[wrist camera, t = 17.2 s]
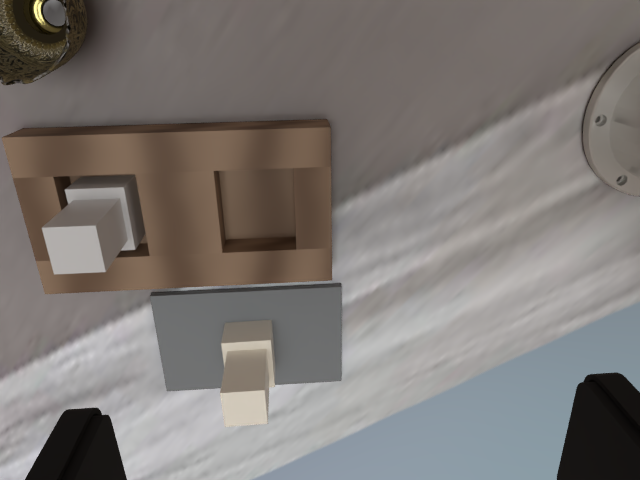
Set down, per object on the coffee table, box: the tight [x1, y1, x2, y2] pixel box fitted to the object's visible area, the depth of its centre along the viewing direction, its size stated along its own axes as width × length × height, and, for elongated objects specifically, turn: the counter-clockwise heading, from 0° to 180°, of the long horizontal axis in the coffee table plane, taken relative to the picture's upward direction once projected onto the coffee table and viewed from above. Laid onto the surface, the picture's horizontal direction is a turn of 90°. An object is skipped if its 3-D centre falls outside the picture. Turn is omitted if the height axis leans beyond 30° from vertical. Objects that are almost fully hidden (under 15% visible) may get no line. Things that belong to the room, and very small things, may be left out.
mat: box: [150, 284, 341, 391], centre depth 44 cm, size 16×10×1 cm, turn 91°
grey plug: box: [42, 175, 146, 274], centre depth 35 cm, size 4×5×8 cm
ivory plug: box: [220, 320, 275, 427], centre depth 41 cm, size 4×5×8 cm
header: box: [2, 119, 332, 294], centre depth 38 cm, size 22×12×3 cm, turn 91°
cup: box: [0, 0, 87, 85], centre depth 30 cm, size 8×7×8 cm
